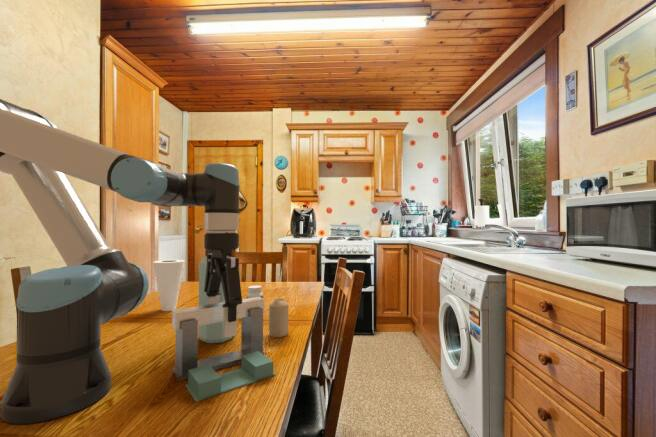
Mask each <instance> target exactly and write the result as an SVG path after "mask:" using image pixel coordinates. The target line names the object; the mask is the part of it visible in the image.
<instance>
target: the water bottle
mask: <svg viewBox="0 0 656 437" xmlns="http://www.w3.org/2000/svg"><path fill="white" fill-rule="evenodd" d="M204 252H205V253H204V254H205V256H203V258H201V260H200V261H199V262H198V306H203V305H207V297H209V296H207V295H206V293H207V292H204V286H205V277H206V267H207V254H212V250H206V249H205V251H204ZM219 291H220V293H221V295H216V296H220V303H222V302H225V299H224V293H223V288H222V282H221V283H220V288H219ZM223 330H224V321H222V322H220V323H217V324H212V325H202V326H198V338H199V340H200V341H201V342H204V343H207V344H219V343H224V342H227V341H230V340H232V338H233V337H234V336H231V337H227V338H224V337H223Z"/></svg>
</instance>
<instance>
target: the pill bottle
mask: <svg viewBox="0 0 656 437" xmlns="http://www.w3.org/2000/svg"><path fill="white" fill-rule="evenodd" d="M262 288H263V287H262V285H249V286H248V287H247V291H248V292H247V294H246V299H248V298H254V297H261V298H263V299H264V293H263V292H262V290H263V289H262Z"/></svg>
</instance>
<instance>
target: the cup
mask: <svg viewBox="0 0 656 437" xmlns="http://www.w3.org/2000/svg"><path fill="white" fill-rule="evenodd" d="M185 261H186V260H185V259H161V260H154V261H153V262H152V264H153V270H154V275H155V277H156V278H155V279H156V280H155V281H156V285H157V291H158V294H159V295H158V296H159V302H160V309H161V311H162V312H172V310H177V305H178V299H179V292H180V288H181V283H182V277H183V272H184V269H185V268H184V266H185V263H186V262H185Z"/></svg>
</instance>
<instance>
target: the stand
mask: <svg viewBox="0 0 656 437" xmlns="http://www.w3.org/2000/svg"><path fill="white" fill-rule="evenodd" d="M240 323H241V324H240V326H241V329H240V330H241V332H240V333H241V336H240V337H241V342H240V343H241V346H240V347H241V348H240V349H238V350H234V351H231V352H226V353H223V354H220V355H219V354H218V355H215V356H211V357H208V358H202V359H200V360H198V358H199V357H198V350H199V348H198V340H199V339H198V338H199V337H198V335H199V326H198V320H197V319H196V320H190V321H185V322H181V330H176V331H175V355H174V356H175V359H174V360H175V363H174V364H175V366H173V367H172V371H173V374H174V376H175V377H176V379H177V380H178V381H179V382H180V381H183V380H188V370H190V369H194V368H197V367H201V366H205V365H208V364H209V365H210V366H211V367H212V368H213V369H214V370H215V371H218V370H222V369H225V368H228V367H233V366H236V365H239V364H240V365H241V364H242V355H245V354H249V353H252V352H256V351H259V352H261V353H262V354H263V355H265V351H264V313H263V308H257V309H251V310H250V316H248V317H243V318H241V322H240Z"/></svg>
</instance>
